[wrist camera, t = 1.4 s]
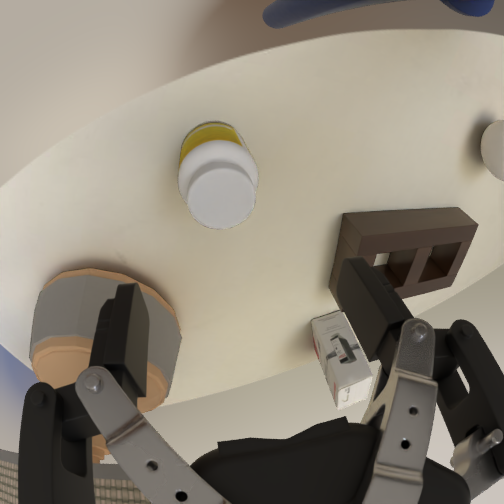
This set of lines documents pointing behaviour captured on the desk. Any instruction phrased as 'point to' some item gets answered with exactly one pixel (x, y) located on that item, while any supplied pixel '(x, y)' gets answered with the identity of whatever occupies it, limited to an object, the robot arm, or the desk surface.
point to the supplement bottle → (217, 175)
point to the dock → (407, 246)
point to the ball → (494, 148)
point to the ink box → (341, 359)
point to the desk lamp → (77, 359)
